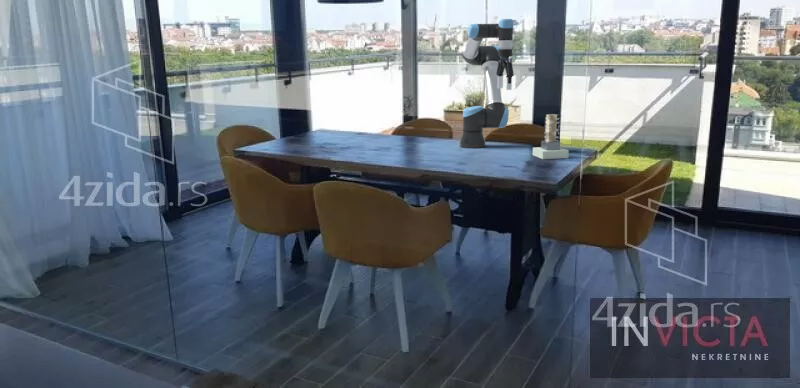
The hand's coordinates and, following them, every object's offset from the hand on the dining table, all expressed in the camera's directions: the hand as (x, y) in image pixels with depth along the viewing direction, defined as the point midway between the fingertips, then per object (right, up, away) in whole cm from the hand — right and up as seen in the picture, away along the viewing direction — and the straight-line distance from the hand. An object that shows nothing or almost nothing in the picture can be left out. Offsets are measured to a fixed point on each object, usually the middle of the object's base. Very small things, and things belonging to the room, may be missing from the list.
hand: (504, 89), depth 337 cm
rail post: (+22, -33, -10) cm, 41 cm away
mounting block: (+23, -37, -9) cm, 45 cm away
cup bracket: (+22, -33, -10) cm, 42 cm away
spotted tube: (+28, -33, +8) cm, 44 cm away
